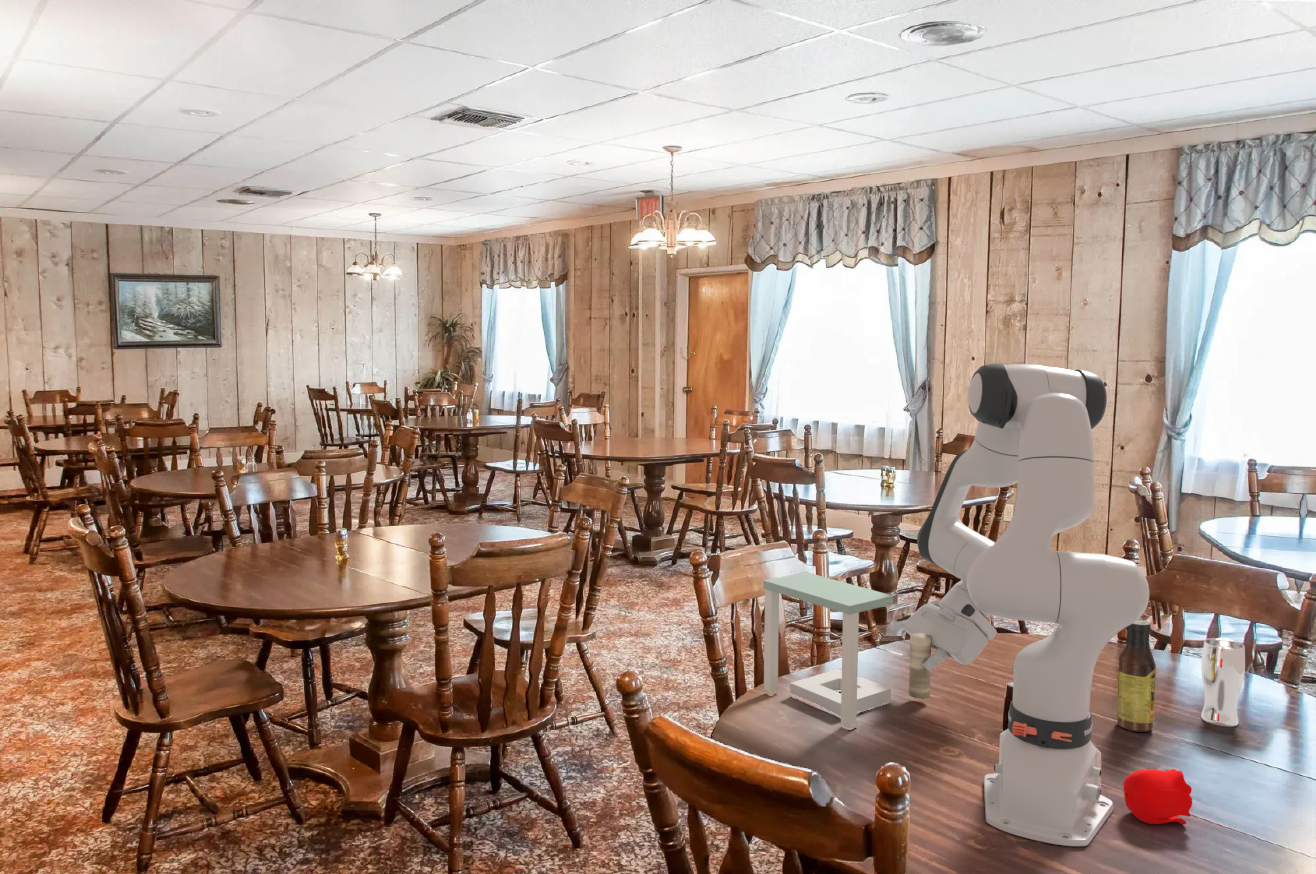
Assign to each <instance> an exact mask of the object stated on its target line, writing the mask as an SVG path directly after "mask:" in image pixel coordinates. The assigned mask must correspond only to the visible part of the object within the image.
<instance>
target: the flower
mask: <svg viewBox="0 0 1316 874" xmlns="http://www.w3.org/2000/svg"><path fill="white" fill-rule="evenodd" d="M1122 787H1123V797H1124V798H1123V799H1124V801H1125V805H1126V807H1127V809H1128V810H1129V812H1131V814H1133V816H1135V818H1137V819H1138V820H1139V821H1141V822H1143V823H1145V824H1148V825H1159V824H1160V825H1161V824H1167V823H1171V822H1172V823H1173V822H1174V823H1175V822H1176V823H1177V824H1180V825H1186V824H1187V821H1186V820H1185V819H1183V818H1181V817H1179V818H1178V816H1182V817H1183V816H1184V817H1192V815H1191V814H1190V811H1191V808H1192V805H1193V797H1192V796H1191V793H1192V789H1193V788H1192V786H1191V785H1190V784H1188V783H1187V782H1186V780H1185V777H1184V773H1183V771H1182V770H1178V769H1175V768H1172V769H1166V770H1161V769H1155V768H1154V769H1153V768H1150V769H1138V770H1136V771H1133V772H1132V773H1129V775H1127V776H1126V777H1125V779H1124V780H1123V786H1122Z"/></svg>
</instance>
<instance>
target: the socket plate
mask: <svg viewBox="0 0 1316 874" xmlns="http://www.w3.org/2000/svg"><path fill="white" fill-rule="evenodd" d="M834 690H842V669H840V668H836V669H833V670H830V671H826V672H822V673H819V674H816V675H813V676H809V677H806V678H802V679H798V680H795V681H791V682H790V684H789V694H790V693H792V694H795V695H797V696H799V697H802V698H803V699H807V700H809V701H811V702H813V703H816V704H818V705H820V706H821V707H824V708H826V709H827V710H829V711H832V712H834V713H836V714H838V715H839V716H841V693H839V692H836V691H834ZM890 701H891V702H892V688H891V687H889V686H885V685H884V684H880V683H878V682H875V681H872V680H870V679H867V678H866V677H861V676H858V675H857V712H858V711H864V710H867V709H869V708H872V707H876V706H878V705H881V704H883V703H887V702H890Z"/></svg>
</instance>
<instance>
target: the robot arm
mask: <svg viewBox="0 0 1316 874" xmlns="http://www.w3.org/2000/svg"><path fill="white" fill-rule="evenodd" d="M968 385H969V386H968V389H967V401H968V407H969V408H968V409H969V412H970V414H971V415H972V416H973V417H974V419H975V420H977V421H978V424H977V428H976V431H975V435H974V439H973V441H972V444H971V445H970V447H969V448H968V449H967V448H966V449H963V450H961V451H960V452H959V453H957V454H956V455H955V457H954V458H953V460H952V461H951V463H950V464H949V467H948V468H947V471H946V473H945V475H944V478H943V480H942V483H941V484H940V487H939V489H938V493H937V494H936V497H935V499H934V502H933V504H932V506H931V509H930V512H929V514H928V515H927V517H926V519H925V521H924V522H923V524H922V525H921V526H920V528H919V531H918V533H917V535H916V542H917V549H918V552H919V555H920V556H921V558H922V559H923V560H926V561H928V562H929V563H932V565H933V564H934V565H935V566H937V567H940V568H942V569H943V570H945V571H946V572H947V573H949V574H951V575H953V576H954V577H955V578H957V579H960V581H958V582H956V583H955V584H954V585H953V586H952V587H951V588H950V589H949V590H948V591H947V593H946V594H945V595H944V596H943V597H942V599H941V600H940V601H939V600H933V601H931V602H928V603H925V604H923V605H922V606H920V607H919V608H917V610H915V612H914V613H913V614H911V615H910V616H909V617H908V619H906V621H905V622H904V624H903V630H904V631H905V632H906V633H907V634H908V635H909V636H910V635H911V634H912V633H925V634H928V635H931V649H933V650H935V651H934V653H933V654H931V657H929V658H925V659H924V661H922V662H921V665H922V666H923V668H925V669H926V670H928V671H930V672H931V671H932V670H933V669H934V668H935V666H937V665H939V664H942V663H943V662H945V661H946V660H947V659H948V658H950V659H951V660H953V661H956V662H957V663H959V664H961V665H962V666H966V665H969V664H972V663H973V662H974V661H975V660H976V659H977V658H978V657H979V656H980V654H981V653H982V652H983V651H984V650H985V648H986V646H987V645H988V642H989V640H993V639H994V637H996V635H997V634H998V632H997V630H996V628H995V627H994V626H993V625H992V624H991V622H990V621H989V620H988V618H989V617H990V616H995V617H999V618H1003V619H1007V620H1011V621H1025V622H1038V623H1039V622H1040V623H1051V624H1052V623H1054V624H1057V626H1056V628H1055V630H1054V631H1053V632H1052V633H1050V635H1049V636H1047V637H1044V638H1043V639H1040V640H1037V641H1034V642H1032V643H1029V644H1028V645H1026V646H1025V647H1024V648H1022V649H1021V650H1020V651H1019V652H1018V653H1017V655H1016V657H1015V659H1014V662H1013V683H1012V684H1013V686H1012V700H1010V703H1009V708H1008V709H1009V710H1008V713H1007V714H1008V715H1007V716H1008V717H1007V718H1008V724H1007V729H1005V730H1004V731H1002V732H1001V733H1000V734H999V748H998V749H999V750H998V751H999V753H998V763H995V764H994V765H993V771H994V773H987V774H985V775H984V777H983V778H984V779H983V794H984V809H985V810H984V811H985V812H984V813H985V814H984V815H985V821H986V823H987V824H989V825H991V827H994V828H996V829H998V830H1000V831H1002V832H1006V833H1008V834H1012V835H1015V836H1017V837H1021V838H1026V839H1030V840H1034V841H1037V842H1042V843H1048V844H1053V845H1060V846H1067V847H1086V846H1088V845H1089V844H1090V843H1091V842H1092V840H1093V839H1094V837H1095V836H1096V834H1098V832H1099V831H1100V829H1101V827H1102V826H1103V825H1104V823H1105V822H1106V820H1108V818H1109V816H1110V815H1111V814H1112V813H1113V811H1114V802H1113V801H1112V800H1111V799H1110V798H1107V796H1105V795H1103V794H1102V791H1101V789H1102V788H1101V787H1102V786H1101V785H1102V784H1101V783H1102V753H1101V751H1100V750H1099V749H1098V748H1097V747H1096V746H1095V745H1094V743H1093V742H1092V741H1091V739H1092V736H1093V735H1092V734H1093V733H1092V732H1093V728H1094V726H1093V724H1094V723H1093V714H1092V712H1091V711H1090V705H1091V704H1090V703H1091V695H1092V694H1091V692H1092V685H1093V684H1092V683H1093V675H1094V670H1095V666H1096V663H1097V661H1098V658H1099V657H1100V655H1101V653H1102V651H1103V649H1104V648H1105V647H1106V645H1107V644H1109V642H1110V641H1111V640H1112V639H1113V638H1114V637H1115V636H1116V635H1118V633H1119V632H1121V631H1122V630H1124V629H1126V627H1127V626H1129V625H1131V624H1133V623H1134V622H1136V621H1137V620H1140V618H1141V617H1142V616H1143V614H1144V613H1145V612H1146V610H1147V607H1148V603H1149V601H1150V588H1149V582H1148V579H1147V577H1146V575H1145V574H1144V573H1145V572H1143V570H1142V569H1141V568H1140V567H1139V565H1138V564H1137V563H1136V562H1134V561H1133V560H1129V559H1126V558H1122V557H1118V556H1114V555H1109V554H1105V553H1097V552H1096V553H1092V552H1077V551H1073V552H1072V551H1058V550H1054V549H1052V546H1051V545H1052V544H1051V543H1052V540H1053V537H1055V536H1056V535H1058V534H1059V533H1061V532H1065V531H1067V530H1070V529H1072V528H1074V527H1076V526H1079V525H1080V524H1082V523H1084V522H1085V521H1086V520H1088V519H1089V517H1090V516H1091V515H1092V513H1093V512H1094V508H1095V451H1094V449H1095V448H1094V440H1093V439H1094V438H1093V433H1092V432H1093V431H1092V430H1093V429H1094V428H1095V427H1096V426H1098V425H1099V423H1101V421H1102V419H1103V417H1104V415H1105V412H1106V408H1107V402H1108V401H1107V399H1108V398H1107V397H1108V396H1107V389H1106V386H1105V384H1104V382H1103V381H1102V378H1101V377H1100V376H1099V375H1097V374H1095V373H1092V372H1090V371H1086V370H1082V369H1075V370H1072V369H1067V368H1064V367H1063V368H1061V367H1056V366H1045V365H1044V366H1043V365H1042V364H1033V363H1031V364H1030V363H1029V364H1028V363H1022V364H1021V363H1016V364H1015V363H1014V364H1013V363H1012V364H1003V363H1002V362H999V363H990V364H984V365H980V366H979V368H977V370H976V371H975V372H974V373H973V375H972V377H971V379H970V383H969V384H968ZM1014 485H1017V487H1016V496H1015V497H1016V500H1015V506H1014V511H1013V514H1012V517H1011V520H1010V522H1009V524H1008V526H1006V527H1007V528H1006V529H1005V531H1004V532H1003V534H1001V536H1000V537H999V538H998V539H997V540H996V542H995V541H993V540H992V539H990V538H988V537H986V536H984V535H983V534H980V533H978V531H976V530H973V529H972V528H970V527H968V526H967V525H965V524H964V523H963V522H962V520H961V519H960V516H959V515H960V511H961V509H962V507H963V504H964V503H965V500H966V498H967V495H968V494H969V491H970V488H971V487H972V486H973V487H983V488H993V489H994V488H995V489H996V488H997V489H998V488H1005V487H1011V486H1014ZM906 658H907V659H908V660H909V661H910V650H909V651H908V652H907V654H906Z"/></svg>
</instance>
